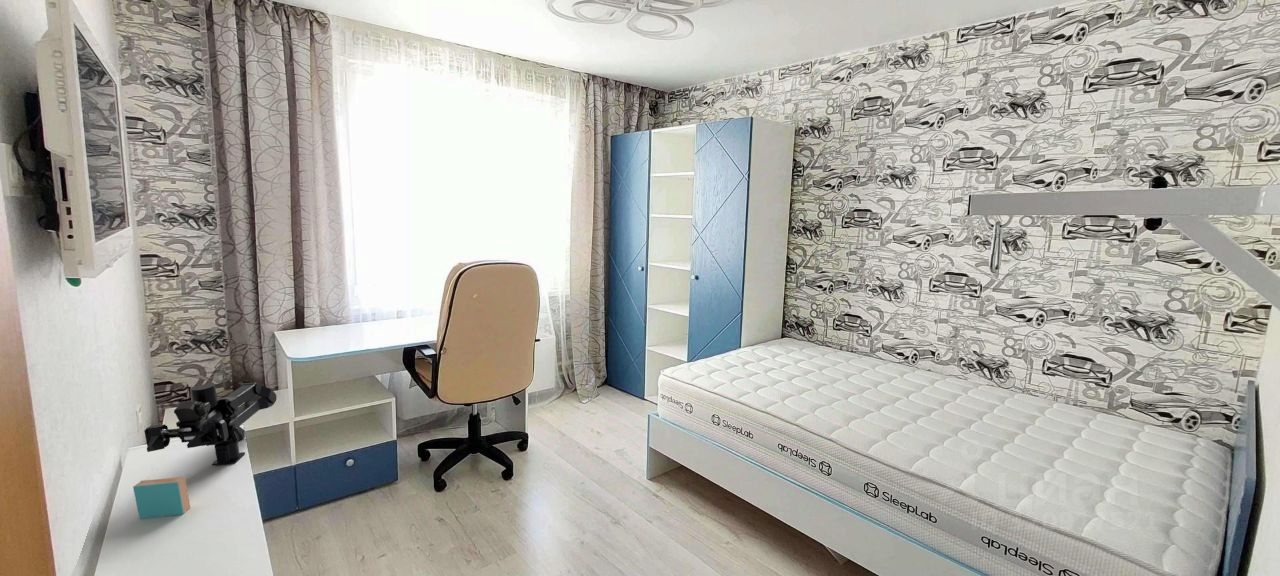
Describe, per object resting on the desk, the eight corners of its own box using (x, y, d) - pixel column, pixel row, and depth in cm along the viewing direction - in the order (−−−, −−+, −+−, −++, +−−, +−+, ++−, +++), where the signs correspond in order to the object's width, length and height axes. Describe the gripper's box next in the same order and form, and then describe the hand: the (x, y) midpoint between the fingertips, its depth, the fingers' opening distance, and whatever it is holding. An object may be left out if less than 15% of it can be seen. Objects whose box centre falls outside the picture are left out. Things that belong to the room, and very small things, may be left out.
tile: (147, 511, 141) (141, 480, 139) (190, 507, 143) (184, 476, 141) (139, 518, 138) (133, 486, 136) (183, 514, 140) (177, 482, 138)
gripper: (160, 400, 153) (120, 423, 138) (234, 394, 156) (203, 416, 141) (167, 436, 155) (128, 462, 140) (240, 429, 158) (210, 455, 143)
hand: (167, 448), depth 141 cm, fingers open, 9 cm apart
